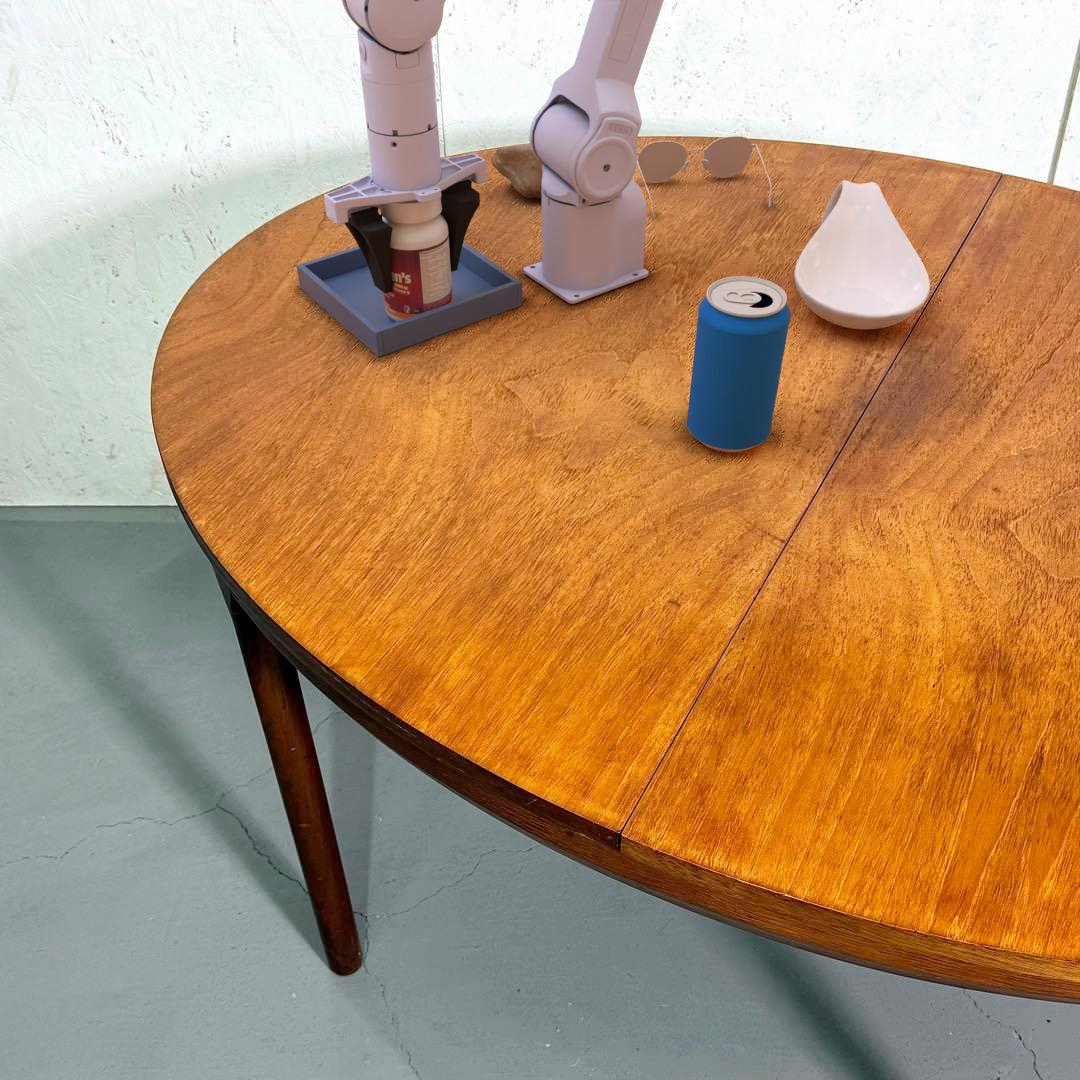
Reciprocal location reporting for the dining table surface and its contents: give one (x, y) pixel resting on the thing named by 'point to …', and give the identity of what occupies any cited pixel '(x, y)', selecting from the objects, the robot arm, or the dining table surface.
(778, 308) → the beverage can
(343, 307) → the slate tray
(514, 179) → the fossil
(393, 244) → the pill bottle
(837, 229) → the spoon rest
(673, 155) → the sunglasses
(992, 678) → the dining table surface
